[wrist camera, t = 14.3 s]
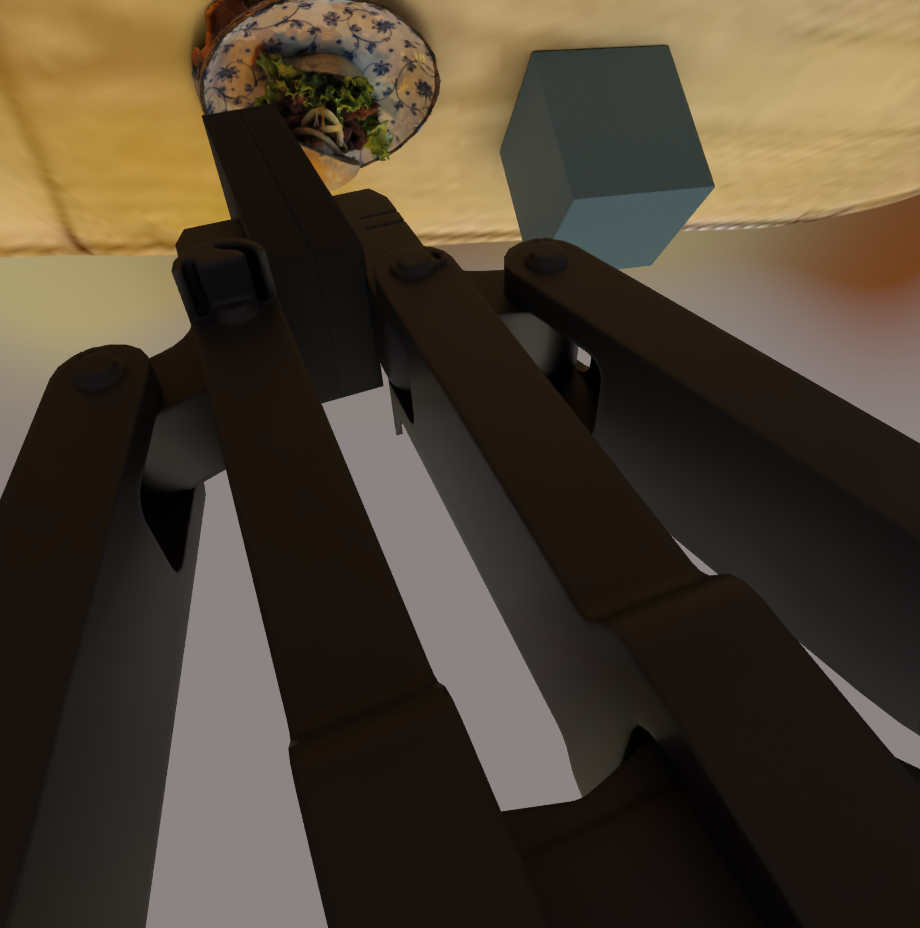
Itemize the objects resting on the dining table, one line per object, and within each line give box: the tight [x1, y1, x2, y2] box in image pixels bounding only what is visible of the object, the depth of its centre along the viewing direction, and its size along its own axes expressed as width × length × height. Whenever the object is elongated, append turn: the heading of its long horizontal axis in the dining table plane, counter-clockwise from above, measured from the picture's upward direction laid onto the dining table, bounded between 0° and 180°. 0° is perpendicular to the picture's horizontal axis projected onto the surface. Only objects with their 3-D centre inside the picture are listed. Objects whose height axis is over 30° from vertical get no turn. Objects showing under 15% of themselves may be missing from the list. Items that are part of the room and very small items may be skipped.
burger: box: [192, 0, 441, 191], centre depth 34 cm, size 12×12×8 cm
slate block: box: [500, 46, 715, 269], centre depth 41 cm, size 8×8×9 cm
